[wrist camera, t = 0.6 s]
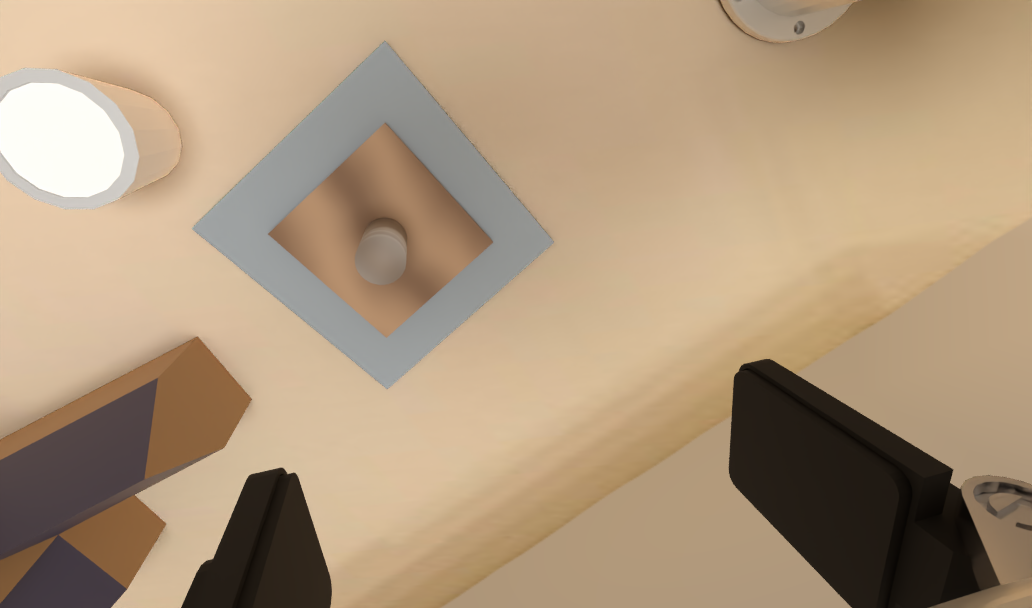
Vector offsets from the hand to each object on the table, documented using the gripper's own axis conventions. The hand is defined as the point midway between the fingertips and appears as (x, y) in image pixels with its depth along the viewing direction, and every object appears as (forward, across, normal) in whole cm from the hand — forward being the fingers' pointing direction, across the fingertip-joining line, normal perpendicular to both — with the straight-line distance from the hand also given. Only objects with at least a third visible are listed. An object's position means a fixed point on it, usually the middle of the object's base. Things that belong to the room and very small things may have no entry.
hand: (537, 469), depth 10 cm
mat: (+29, +4, 0) cm, 29 cm away
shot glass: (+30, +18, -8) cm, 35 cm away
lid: (+29, +4, 0) cm, 29 cm away
